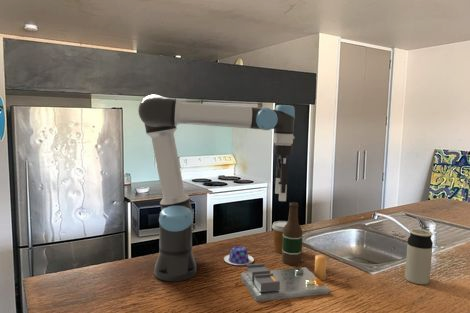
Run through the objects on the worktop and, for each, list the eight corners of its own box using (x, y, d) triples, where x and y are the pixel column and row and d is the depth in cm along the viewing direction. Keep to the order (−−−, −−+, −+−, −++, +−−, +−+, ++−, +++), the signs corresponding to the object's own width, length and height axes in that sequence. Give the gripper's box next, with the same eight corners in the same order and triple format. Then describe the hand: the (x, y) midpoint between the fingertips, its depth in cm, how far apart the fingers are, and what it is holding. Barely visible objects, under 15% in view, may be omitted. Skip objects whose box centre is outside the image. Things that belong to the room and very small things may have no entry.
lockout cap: (317, 280, 131) (318, 259, 130) (312, 276, 134) (313, 254, 134) (327, 279, 132) (328, 258, 131) (322, 275, 136) (323, 254, 135)
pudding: (230, 268, 140) (231, 255, 139) (219, 257, 151) (219, 244, 150) (259, 264, 145) (259, 251, 144) (245, 253, 156) (246, 241, 155)
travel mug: (419, 286, 128) (423, 236, 126) (399, 277, 135) (403, 229, 133) (434, 282, 132) (438, 233, 130) (414, 274, 139) (418, 227, 137)
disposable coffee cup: (292, 247, 163) (293, 221, 162) (293, 255, 154) (295, 227, 153) (270, 246, 164) (272, 220, 163) (270, 254, 155) (272, 226, 154)
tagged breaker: (260, 292, 116) (260, 283, 116) (254, 283, 122) (254, 274, 122) (279, 290, 118) (279, 281, 117) (272, 281, 124) (272, 273, 124)
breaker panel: (256, 301, 115) (256, 292, 114) (240, 278, 131) (241, 270, 131) (328, 293, 121) (328, 284, 121) (305, 272, 138) (305, 264, 137)
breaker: (252, 280, 124) (252, 272, 124) (246, 272, 130) (246, 264, 130) (270, 278, 126) (270, 270, 126) (263, 271, 132) (264, 263, 132)
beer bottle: (302, 259, 150) (305, 201, 147) (299, 267, 142) (302, 206, 140) (283, 257, 152) (286, 199, 150) (279, 263, 145) (282, 203, 142)
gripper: (297, 147, 134) (294, 204, 136) (288, 142, 159) (285, 191, 161) (277, 146, 134) (274, 203, 136) (270, 141, 159) (268, 190, 161)
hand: (280, 197), depth 149 cm, fingers open, 13 cm apart
